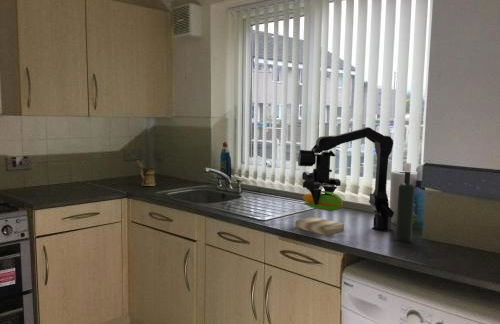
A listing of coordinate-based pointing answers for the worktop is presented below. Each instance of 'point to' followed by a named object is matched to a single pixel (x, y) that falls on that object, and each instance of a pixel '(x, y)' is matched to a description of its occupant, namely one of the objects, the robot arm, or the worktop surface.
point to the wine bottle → (405, 208)
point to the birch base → (319, 225)
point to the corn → (325, 201)
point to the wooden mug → (146, 175)
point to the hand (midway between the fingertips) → (321, 203)
